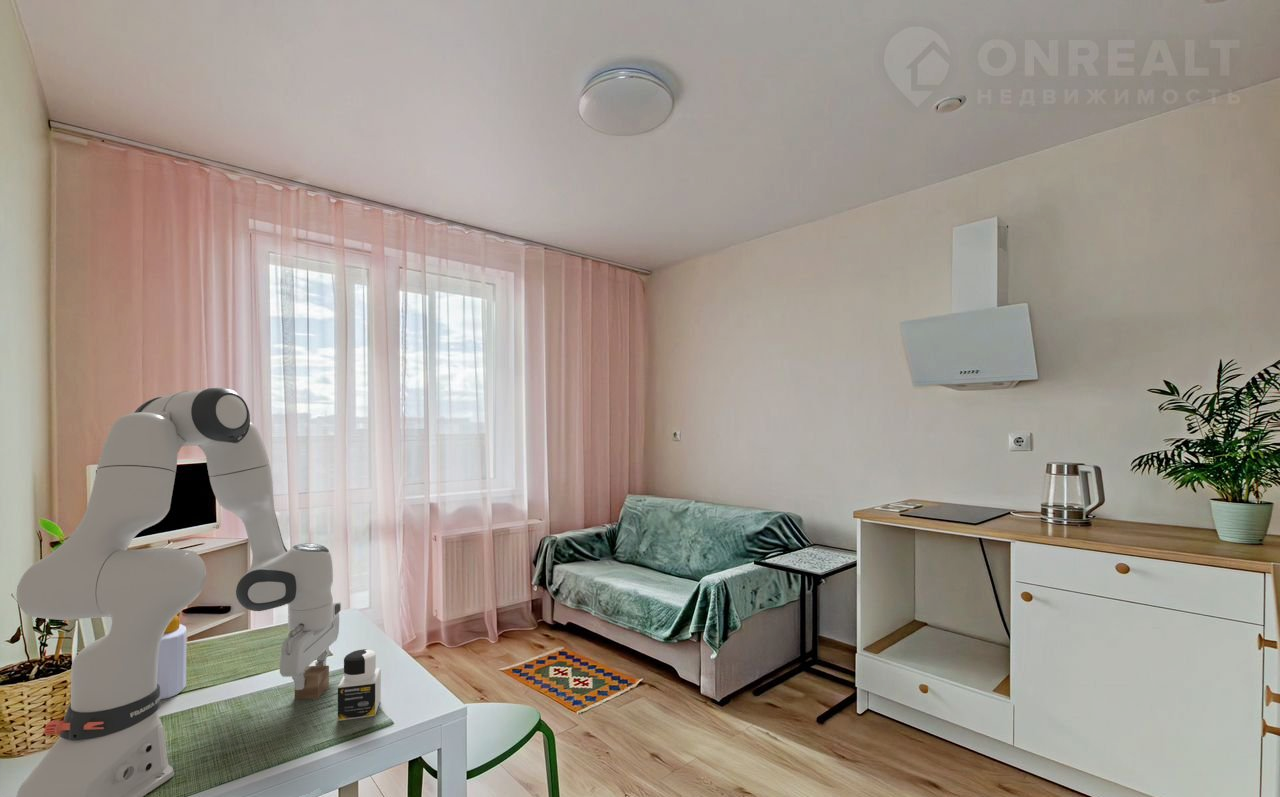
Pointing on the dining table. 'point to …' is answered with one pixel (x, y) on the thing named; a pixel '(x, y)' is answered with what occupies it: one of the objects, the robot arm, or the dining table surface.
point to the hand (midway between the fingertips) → (311, 678)
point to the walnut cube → (314, 682)
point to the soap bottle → (172, 659)
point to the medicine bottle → (359, 686)
